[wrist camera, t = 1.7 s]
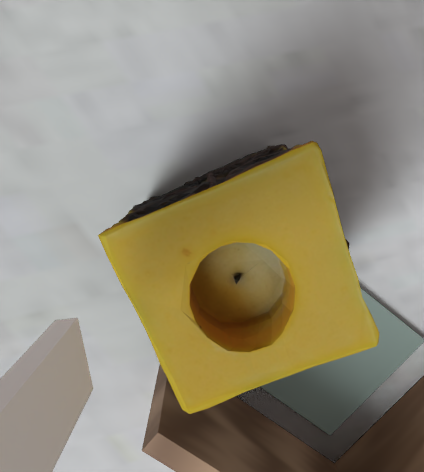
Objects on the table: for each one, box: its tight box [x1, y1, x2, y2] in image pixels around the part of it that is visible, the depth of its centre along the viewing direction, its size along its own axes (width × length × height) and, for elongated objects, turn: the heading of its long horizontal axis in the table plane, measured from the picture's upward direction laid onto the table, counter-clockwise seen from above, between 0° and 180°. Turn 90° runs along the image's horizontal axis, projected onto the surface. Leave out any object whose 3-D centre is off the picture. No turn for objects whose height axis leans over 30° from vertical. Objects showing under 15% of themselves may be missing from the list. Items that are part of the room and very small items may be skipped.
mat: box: [260, 288, 424, 435], centre depth 27 cm, size 11×11×1 cm
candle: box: [98, 141, 379, 414], centre depth 20 cm, size 10×10×10 cm
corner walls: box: [142, 365, 424, 472], centre depth 23 cm, size 19×16×8 cm
